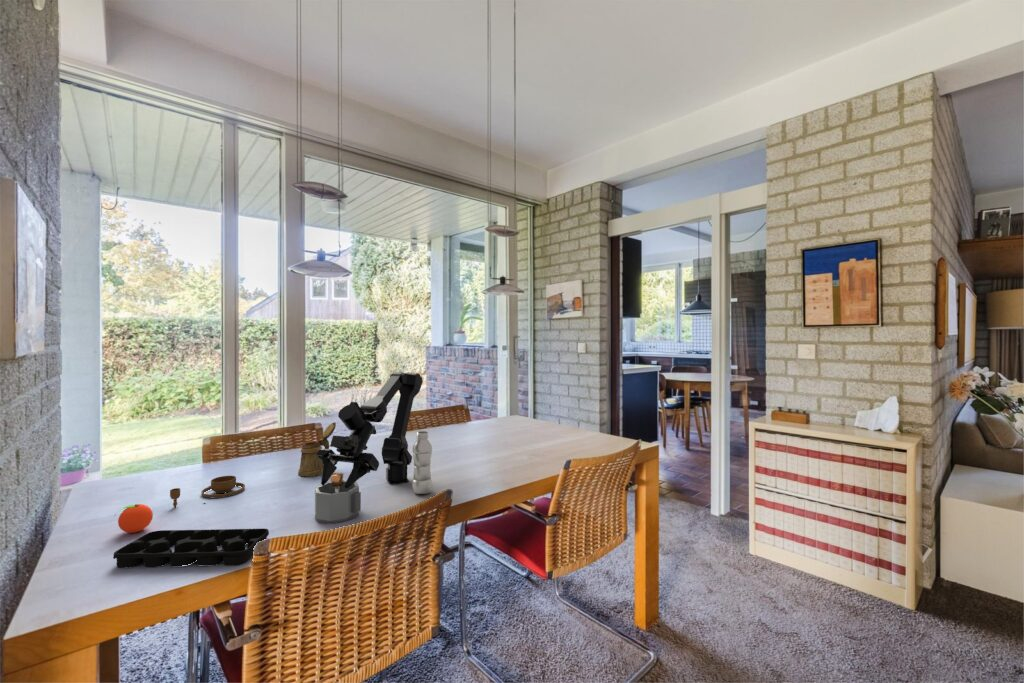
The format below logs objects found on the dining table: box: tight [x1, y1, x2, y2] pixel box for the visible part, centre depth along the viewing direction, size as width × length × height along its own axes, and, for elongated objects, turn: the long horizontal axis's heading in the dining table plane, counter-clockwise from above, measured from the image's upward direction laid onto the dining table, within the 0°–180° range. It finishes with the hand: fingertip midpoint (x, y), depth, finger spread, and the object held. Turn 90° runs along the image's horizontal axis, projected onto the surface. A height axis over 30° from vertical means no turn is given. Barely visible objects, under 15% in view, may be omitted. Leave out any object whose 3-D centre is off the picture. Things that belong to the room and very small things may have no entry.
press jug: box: [314, 479, 362, 524], centre depth 126 cm, size 12×13×8 cm
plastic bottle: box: [411, 430, 433, 495], centre depth 144 cm, size 6×7×20 cm
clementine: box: [114, 503, 154, 534], centre depth 114 cm, size 8×7×7 cm
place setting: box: [169, 475, 246, 507], centre depth 141 cm, size 18×20×6 cm
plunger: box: [330, 472, 344, 493], centre depth 126 cm, size 8×8×10 cm
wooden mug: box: [297, 421, 337, 478], centre depth 166 cm, size 9×14×18 cm, turn 134°
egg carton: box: [113, 528, 270, 569], centre depth 103 cm, size 18×30×4 cm, turn 106°
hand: (333, 486), depth 125 cm, fingers open, 8 cm apart
